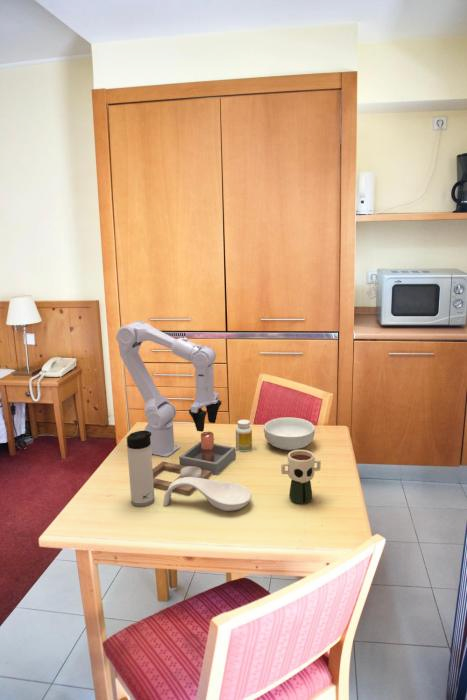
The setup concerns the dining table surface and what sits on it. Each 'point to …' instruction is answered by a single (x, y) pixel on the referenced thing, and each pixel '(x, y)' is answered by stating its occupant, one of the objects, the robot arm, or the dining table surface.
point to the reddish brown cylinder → (207, 446)
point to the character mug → (300, 474)
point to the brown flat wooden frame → (184, 471)
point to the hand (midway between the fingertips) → (206, 426)
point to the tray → (221, 460)
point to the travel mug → (140, 468)
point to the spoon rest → (215, 492)
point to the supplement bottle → (243, 436)
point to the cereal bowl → (289, 433)
